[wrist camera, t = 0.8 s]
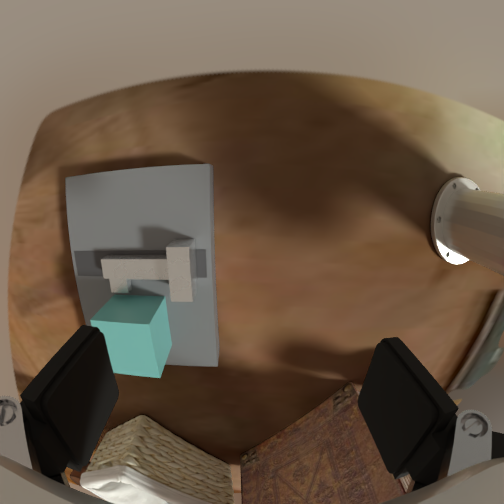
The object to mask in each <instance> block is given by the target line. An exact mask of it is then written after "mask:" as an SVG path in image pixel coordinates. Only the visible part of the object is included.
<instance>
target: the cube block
mask: <svg viewBox="0 0 504 504" xmlns="http://www.w3.org/2000/svg"><path fill="white" fill-rule="evenodd" d="M90 321H91V325H92V326H93V327H98V328H99V329H100V332H102V333H103V334H104V336H105V340H106V345H107V349H108V353H109V357H110V361H111V365H112V369H113V373H119V374H127V375H135V376H144V377H154V378H160V377H161V375H162V372H163V369H164V366H165V363H166V360H167V357H168V355H169V352H170V349H171V346H172V341H171V334H170V328H169V321H168V314H167V306H166V298H165V296H137V295H113V296H112V297H111V299H110V300H109V301H108V302H107V303H106V304H105V305H104V306H103V307H102V308H101V309H100V310H99V311H98V312H97V313H96V314H95V315H94V316H93V317H92V318H91V320H90Z"/></svg>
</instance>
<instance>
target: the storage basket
mask: <svg viewBox="0 0 504 504" xmlns="http://www.w3.org/2000/svg"><path fill="white" fill-rule="evenodd" d="M230 469H231V467H230V465H228V464H227V463H225V462H223V461H221V460H220V459H217V458H215V457H213V456H212V455H209V454H207V453H205V452H204V451H202V450H200V449H198V448H196V447H195V446H194V445H191V444H189V443H187V442H186V441H184V440H183V439H182V438H180V437H178V436H176V435H174V434H173V433H171V432H170V431H169V430H166V429H165V428H163V427H162V426H160V425H159V424H158V423H156V422H154V421H153V420H151V419H150V418H149V417H147V416H145V415H140V416H137V417H136V418H133V419H131V420H130V421H127V422H125V423H124V424H123V425H119V426H118V427H117V428H114V429H112V430H111V431H108V432H107V433H106V434H105V436H104V438H103V440H102V442H101V443H100V445H99V446H98V449H97V451H96V453H95V454H94V458H93V459H92V462H91V463H90V464H89V466H88V468H87V470H86V472H85V473H82V474H81V479H80V485H81V486H82V487H83V488H85V489H87V490H89V491H91V492H92V493H94V494H96V495H97V496H99V497H101V498H103V499H104V500H106V501H108V502H111V503H114V504H234V497H233V494H234V490H233V487H232V484H233V482H232V479H231V477H232V475H231V470H230Z"/></svg>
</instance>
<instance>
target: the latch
mask: <svg viewBox="0 0 504 504" xmlns="http://www.w3.org/2000/svg"><path fill="white" fill-rule="evenodd" d="M166 254H167V255H107V256H105V257H104V258H102V259H101V264H102V271H103V277H104V279H109V281H110V287H111V292H114V293H129V292H130V291H131V290H132V287H131V281H130V279H149V280H169V287H170V297H171V302H193V300H194V297H195V294H196V291H197V274H196V257H195V239H174V240H173V241H172V242H171V243H170V244H169V245H168V246H167V247H166Z"/></svg>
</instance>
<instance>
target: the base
mask: <svg viewBox="0 0 504 504" xmlns="http://www.w3.org/2000/svg"><path fill="white" fill-rule="evenodd" d="M65 181H66V205H67V218H68V229H69V238H70V246H71V253H72V260H73V266H74V272H75V277H76V283H77V288H78V293H79V297H80V302H81V306H82V310H83V314H84V318H85V322H86V325H87V326H92V325H91V321H90V320H91V318H92V317H93V316H94V315H95V314H96V313H97V312H98V311H99V310H100V309H101V308H102V307H103V306H104V305H105V304H106V303H107V302H108V301H109V300H110V299H111V297H112V296H113V295H137V296H165V298H166V306H167V314H168V321H169V328H170V334H171V341H172V346H171V349H170V352H169V355H168V357H167V360H166V363H165V365H182V366H214V367H218V358H219V333H218V316H217V297H216V274H215V245H214V195H213V166H212V165H211V164H191V165H173V166H158V167H146V168H135V169H125V170H116V171H108V172H100V173H93V174H86V175H79V176H73V177H66V178H65ZM174 239H195V257H196V274H197V291H196V294H195V297H194V300H193V302H171V297H170V287H169V280H149V279H130V281H131V287H132V290H131V291H130V292H129V293H114V292H111V287H110V281H109V279H104V277H103V271H102V264H101V259H102V258H104V257H105V256H107V255H167V254H166V247H167V246H168V245H169V244H170V243H171V242H172V241H173V240H174Z"/></svg>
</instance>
